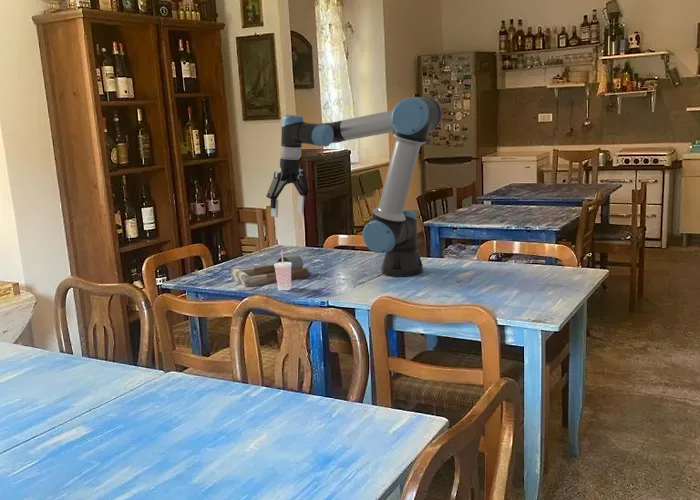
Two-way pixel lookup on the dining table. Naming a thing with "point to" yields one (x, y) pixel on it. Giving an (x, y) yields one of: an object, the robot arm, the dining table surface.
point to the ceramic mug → (292, 261)
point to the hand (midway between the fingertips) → (287, 214)
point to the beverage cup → (283, 274)
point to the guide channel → (262, 275)
